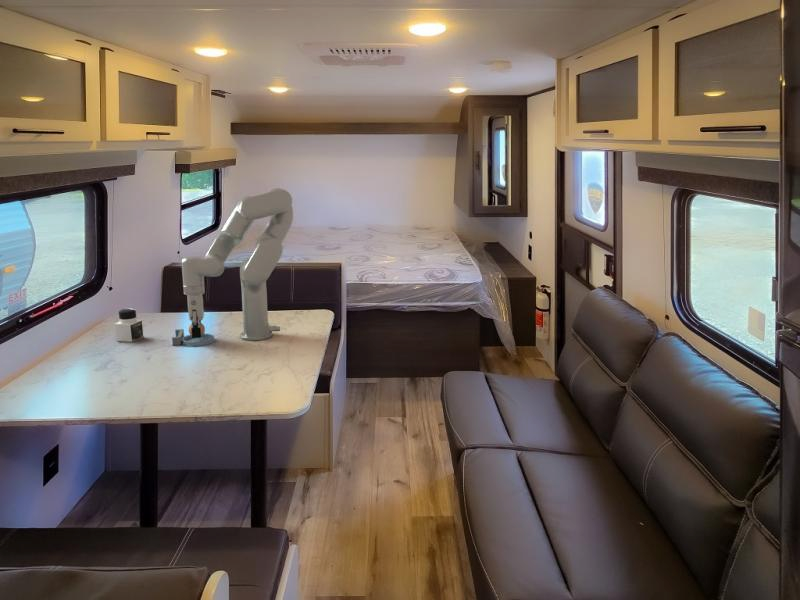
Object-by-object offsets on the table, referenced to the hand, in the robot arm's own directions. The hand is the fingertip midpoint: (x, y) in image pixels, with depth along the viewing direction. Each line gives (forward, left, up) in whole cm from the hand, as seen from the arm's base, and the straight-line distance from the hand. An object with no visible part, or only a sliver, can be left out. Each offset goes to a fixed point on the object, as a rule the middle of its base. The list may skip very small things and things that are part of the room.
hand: (197, 334), depth 225 cm
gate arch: (+6, -3, -3) cm, 8 cm away
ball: (0, 0, -1) cm, 1 cm away
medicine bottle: (+26, -10, -3) cm, 28 cm away
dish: (0, 0, -3) cm, 3 cm away
